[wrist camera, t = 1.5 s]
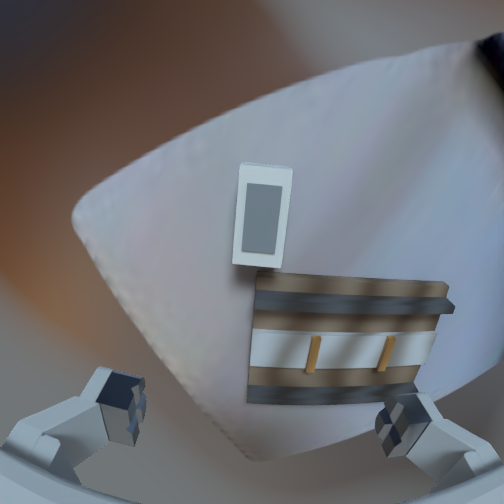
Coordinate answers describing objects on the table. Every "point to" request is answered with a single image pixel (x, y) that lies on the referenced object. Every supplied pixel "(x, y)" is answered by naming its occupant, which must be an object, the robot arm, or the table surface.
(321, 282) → the rail board
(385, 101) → the table surface
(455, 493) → the robot arm
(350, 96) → the table surface
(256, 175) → the block
